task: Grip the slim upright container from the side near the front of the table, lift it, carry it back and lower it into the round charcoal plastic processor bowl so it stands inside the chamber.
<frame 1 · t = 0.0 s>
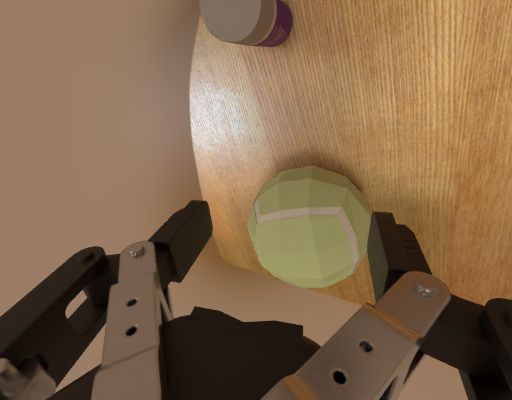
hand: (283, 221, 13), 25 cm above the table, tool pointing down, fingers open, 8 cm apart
decorative sphere: (311, 197, 40), on the table
container: (273, 23, 30), on the table
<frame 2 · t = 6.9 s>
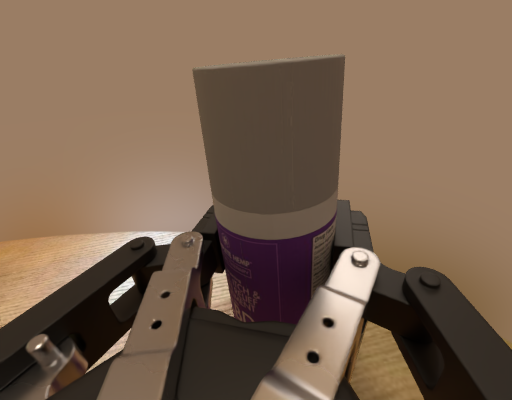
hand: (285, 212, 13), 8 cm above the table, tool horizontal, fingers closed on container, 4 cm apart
container: (282, 354, 15), on the table, touching gripper
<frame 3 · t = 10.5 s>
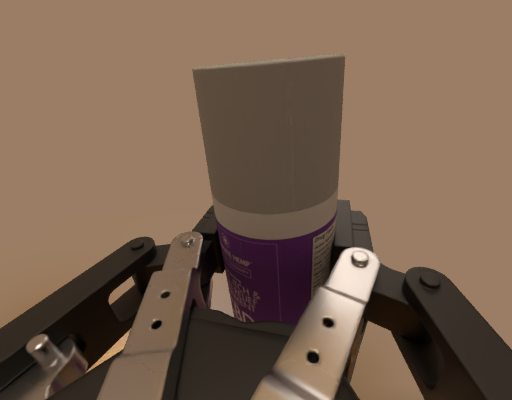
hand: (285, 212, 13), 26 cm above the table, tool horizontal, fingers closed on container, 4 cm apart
container: (282, 354, 15), point 17 cm above the table, touching gripper
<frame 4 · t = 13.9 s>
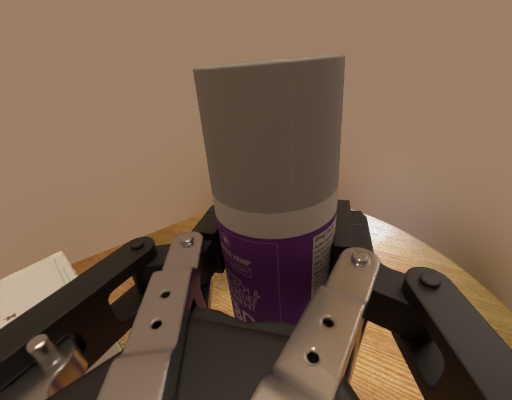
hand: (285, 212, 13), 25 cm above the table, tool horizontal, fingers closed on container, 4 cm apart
cosmetic box: (98, 373, 32), on the table
container: (282, 354, 15), point 17 cm above the table, touching gripper
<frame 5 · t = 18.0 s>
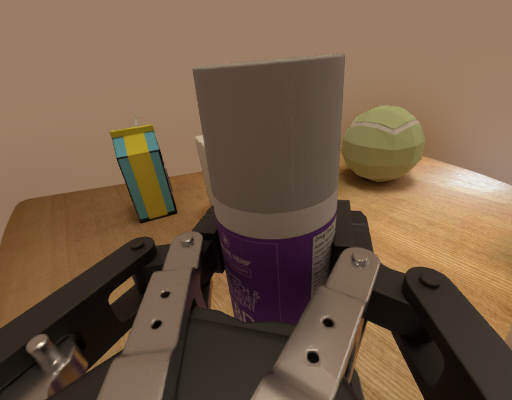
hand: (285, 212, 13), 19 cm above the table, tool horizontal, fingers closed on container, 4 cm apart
decorative sphere: (375, 178, 58), on the table
cosmetic box: (232, 219, 48), on the table
carton: (158, 209, 53), on the table
container: (282, 354, 15), point 11 cm above the table, touching gripper
when the fingers open (9 cm above the table, at t = 21.4 s): container stays where it is, resting on processor bowl.
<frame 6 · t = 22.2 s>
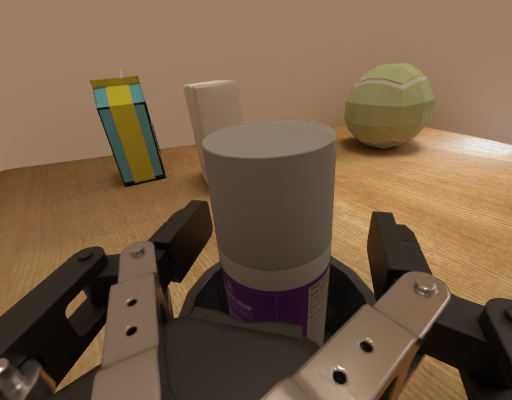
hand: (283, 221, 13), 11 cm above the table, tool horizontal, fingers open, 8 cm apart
decorative sphere: (380, 146, 54), on the table
cosmetic box: (224, 182, 44), on the table
carton: (145, 175, 49), on the table
processor bowl: (281, 380, 16), on the table
container: (280, 376, 16), point 1 cm above the table, touching processor bowl
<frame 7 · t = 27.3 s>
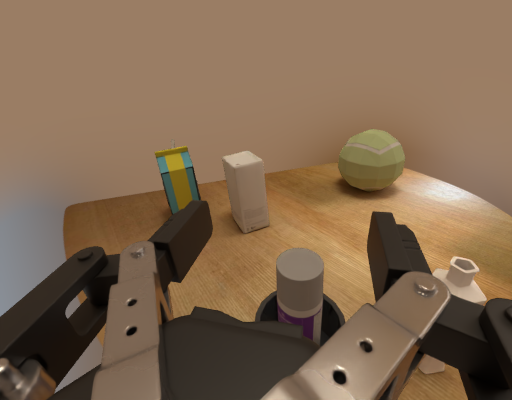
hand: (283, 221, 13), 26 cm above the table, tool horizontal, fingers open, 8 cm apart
decorative sphere: (366, 187, 69), on the table
perfume bottle: (422, 358, 31), on the table
cosmetic box: (249, 222, 59), on the table
carton: (187, 213, 65), on the table
processor bowl: (299, 356, 32), on the table
container: (299, 354, 32), point 1 cm above the table, touching processor bowl
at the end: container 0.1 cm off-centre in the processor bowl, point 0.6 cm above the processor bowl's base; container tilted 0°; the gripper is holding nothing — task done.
